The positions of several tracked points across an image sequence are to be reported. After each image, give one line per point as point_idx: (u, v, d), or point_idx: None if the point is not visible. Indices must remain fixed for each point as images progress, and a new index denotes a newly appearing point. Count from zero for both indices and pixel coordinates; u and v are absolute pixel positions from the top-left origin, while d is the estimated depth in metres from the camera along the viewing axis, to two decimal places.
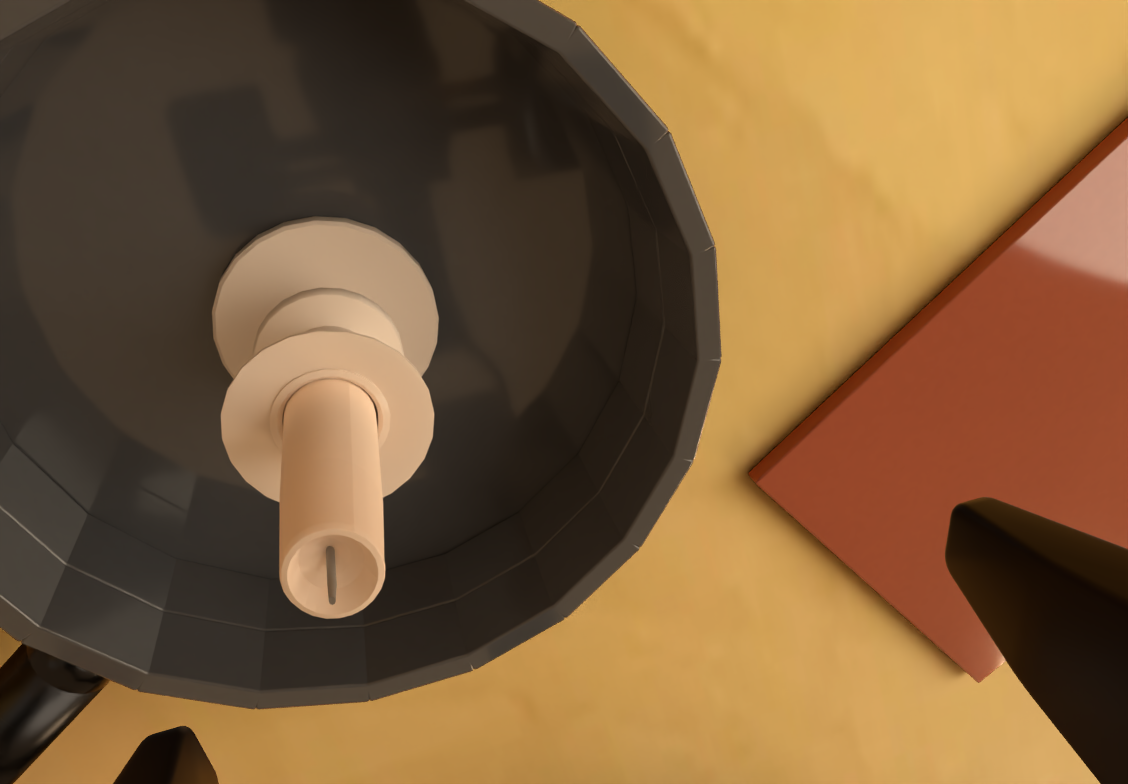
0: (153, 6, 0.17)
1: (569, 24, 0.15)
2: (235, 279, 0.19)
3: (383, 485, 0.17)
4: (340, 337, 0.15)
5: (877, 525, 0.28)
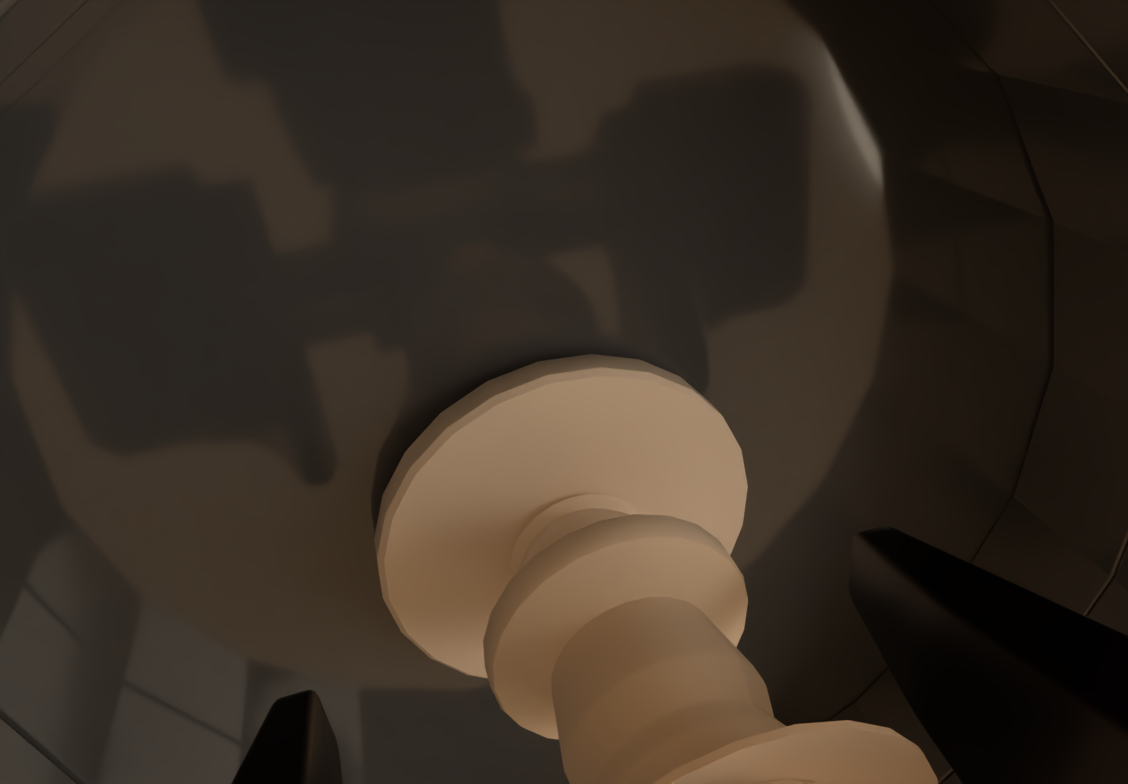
0: None
1: None
2: (442, 463, 0.10)
3: None
4: (838, 739, 0.06)
5: None
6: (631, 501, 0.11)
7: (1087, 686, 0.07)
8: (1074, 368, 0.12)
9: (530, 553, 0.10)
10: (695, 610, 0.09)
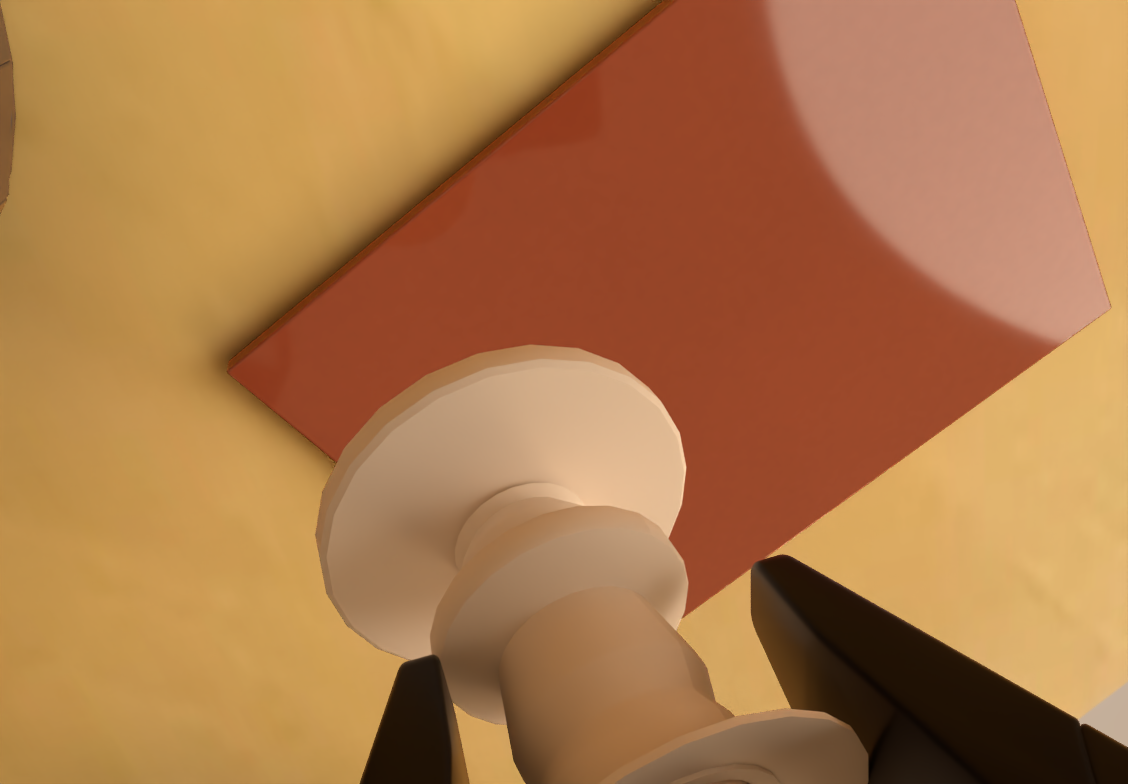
0: None
1: None
2: (382, 459, 0.10)
3: None
4: (776, 727, 0.07)
5: None
6: (573, 488, 0.11)
7: (952, 731, 0.07)
8: None
9: (474, 545, 0.10)
10: (638, 598, 0.09)
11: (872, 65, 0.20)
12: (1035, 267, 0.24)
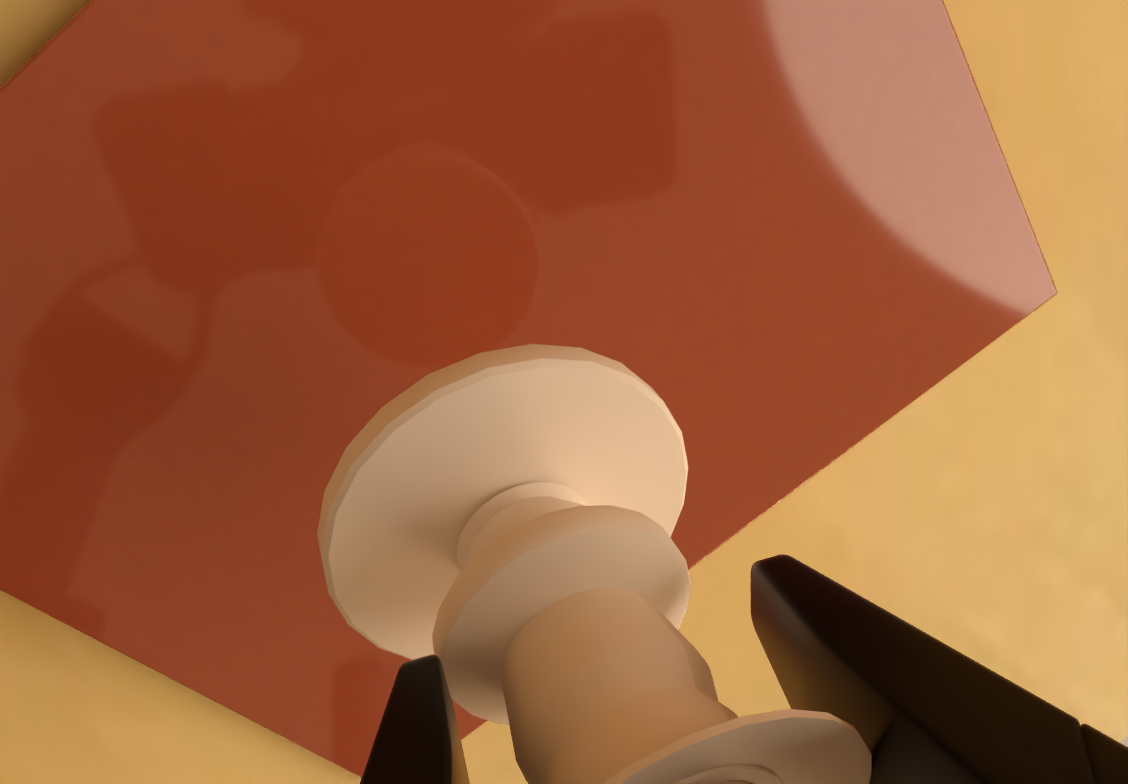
0: None
1: None
2: (384, 459, 0.10)
3: None
4: (780, 728, 0.07)
5: (44, 525, 0.15)
6: (575, 487, 0.11)
7: (952, 732, 0.07)
8: None
9: (476, 544, 0.10)
10: (640, 598, 0.09)
11: None
12: (942, 237, 0.17)
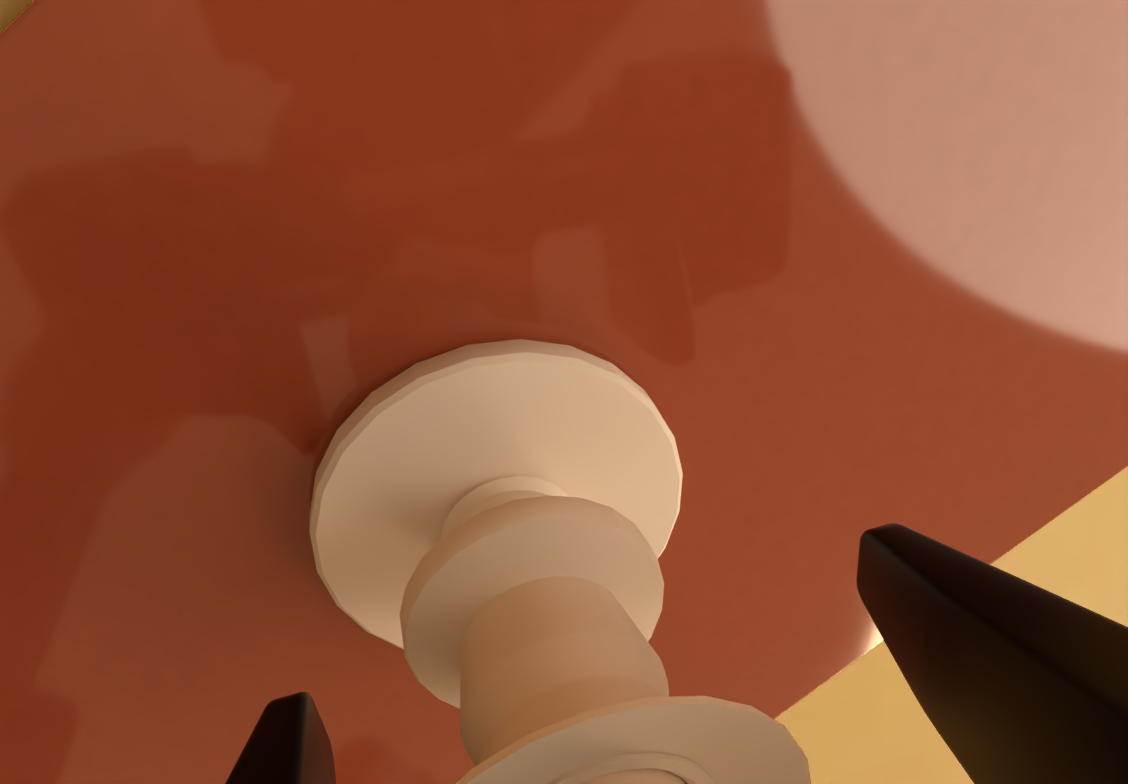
0: None
1: None
2: (369, 441, 0.10)
3: None
4: (693, 714, 0.07)
5: None
6: (561, 484, 0.11)
7: (1099, 682, 0.07)
8: None
9: None
10: (601, 590, 0.09)
11: None
12: (1108, 331, 0.13)
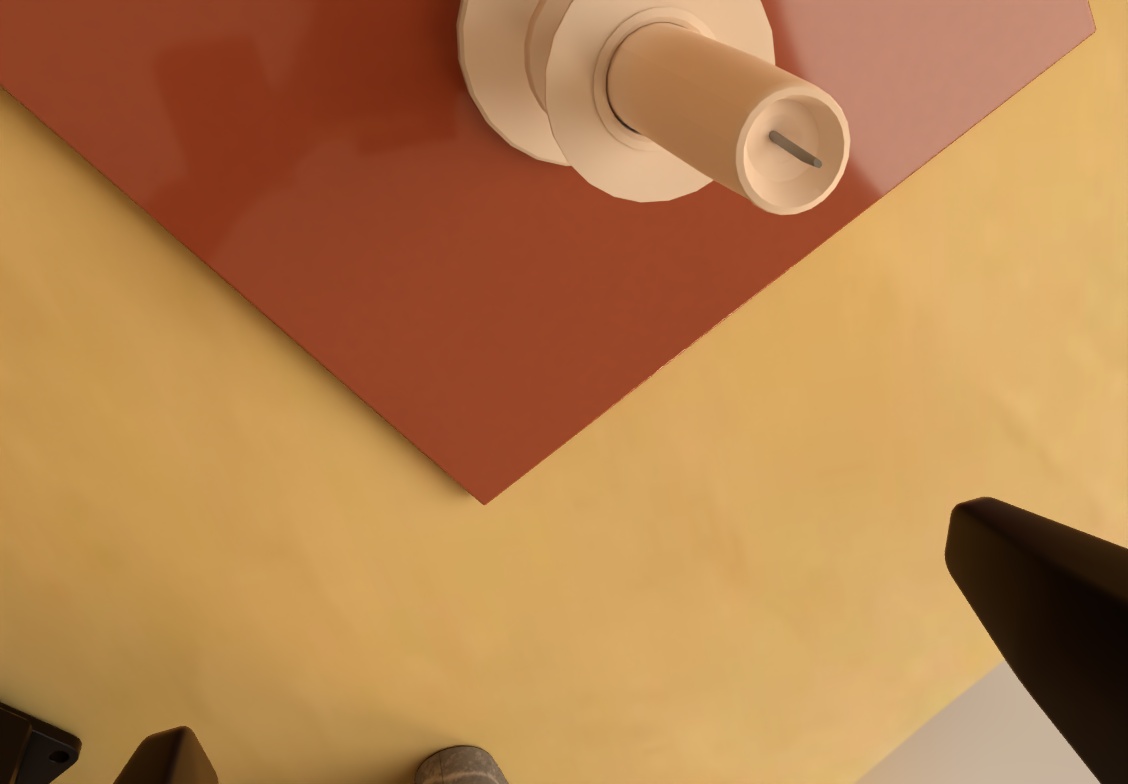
0: None
1: None
2: None
3: (689, 179, 0.14)
4: None
5: (218, 173, 0.17)
6: None
7: None
8: None
9: None
10: None
11: None
12: None
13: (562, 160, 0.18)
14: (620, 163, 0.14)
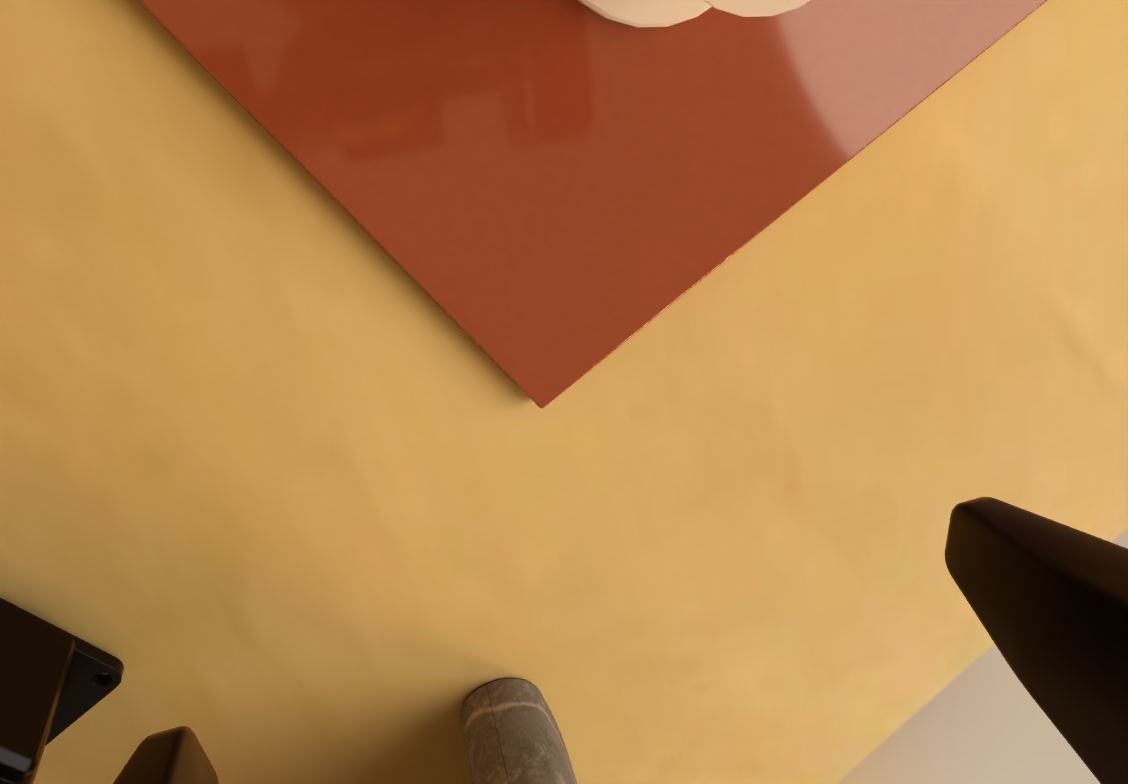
0: None
1: None
2: None
3: None
4: None
5: (281, 27, 0.17)
6: None
7: None
8: None
9: None
10: None
11: None
12: None
13: (635, 20, 0.18)
14: None
